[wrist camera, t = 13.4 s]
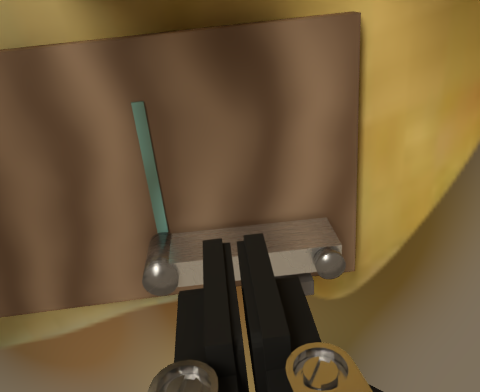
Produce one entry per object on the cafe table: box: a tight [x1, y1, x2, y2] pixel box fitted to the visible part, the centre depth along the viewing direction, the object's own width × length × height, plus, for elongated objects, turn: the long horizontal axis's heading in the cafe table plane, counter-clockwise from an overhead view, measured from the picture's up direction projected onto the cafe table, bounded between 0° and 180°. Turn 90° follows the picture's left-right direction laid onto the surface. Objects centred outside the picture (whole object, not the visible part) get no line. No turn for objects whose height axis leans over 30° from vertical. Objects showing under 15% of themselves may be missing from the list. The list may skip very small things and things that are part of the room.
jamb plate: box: [0, 12, 361, 317], centre depth 31 cm, size 30×20×6 cm, turn 95°
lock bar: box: [142, 217, 346, 296], centre depth 32 cm, size 14×2×5 cm, turn 94°
